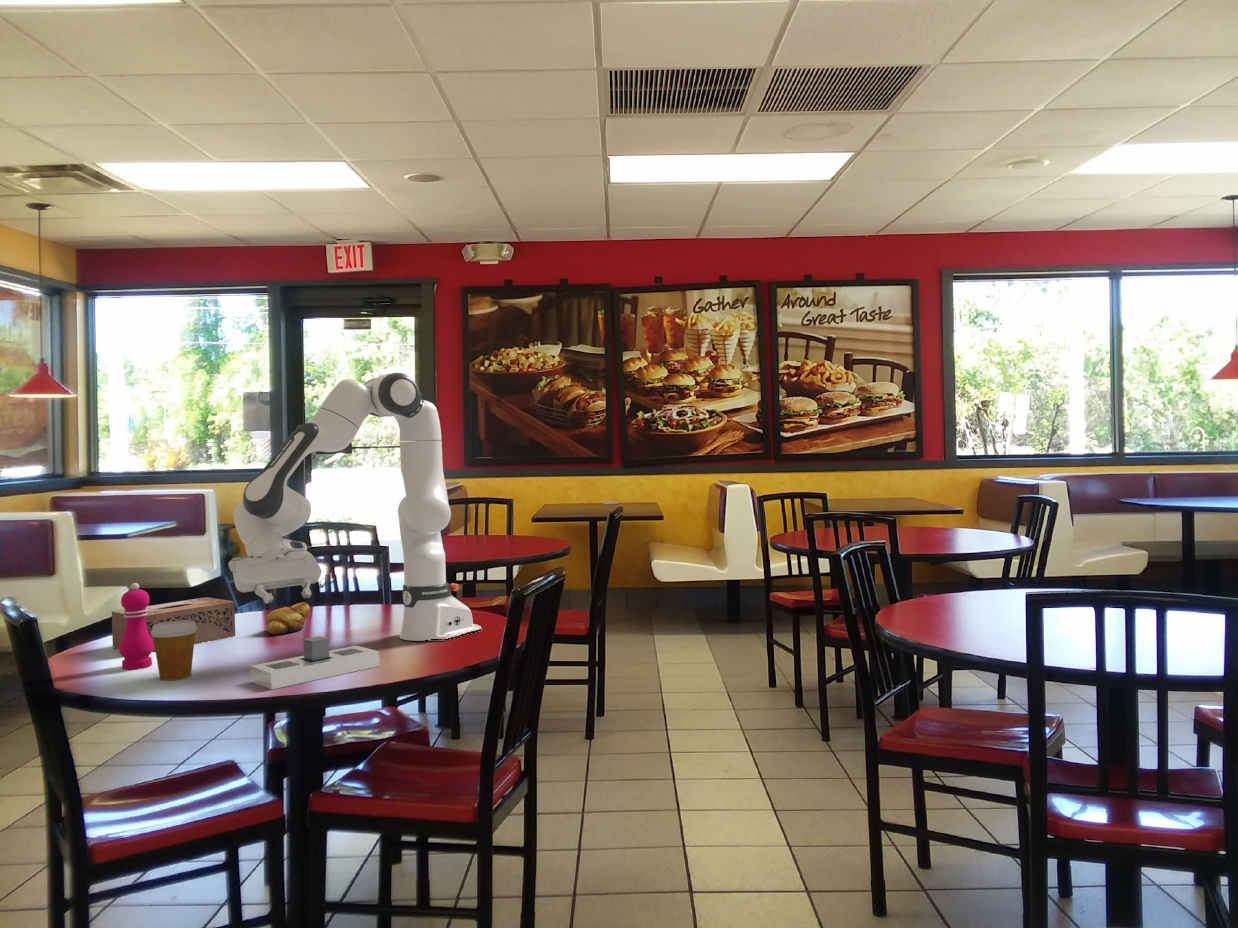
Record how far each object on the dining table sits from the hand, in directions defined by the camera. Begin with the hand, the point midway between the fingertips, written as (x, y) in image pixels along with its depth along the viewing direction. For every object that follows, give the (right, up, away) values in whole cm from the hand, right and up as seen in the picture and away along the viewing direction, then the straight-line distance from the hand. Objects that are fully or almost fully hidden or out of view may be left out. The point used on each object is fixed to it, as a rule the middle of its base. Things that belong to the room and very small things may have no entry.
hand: (289, 598), depth 210 cm
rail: (+9, -16, -8) cm, 20 cm away
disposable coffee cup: (-22, -17, -9) cm, 29 cm away
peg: (+9, -16, -8) cm, 20 cm away
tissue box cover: (-41, -17, +30) cm, 54 cm away
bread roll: (-17, -16, +42) cm, 48 cm away
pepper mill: (-37, -17, +2) cm, 41 cm away
